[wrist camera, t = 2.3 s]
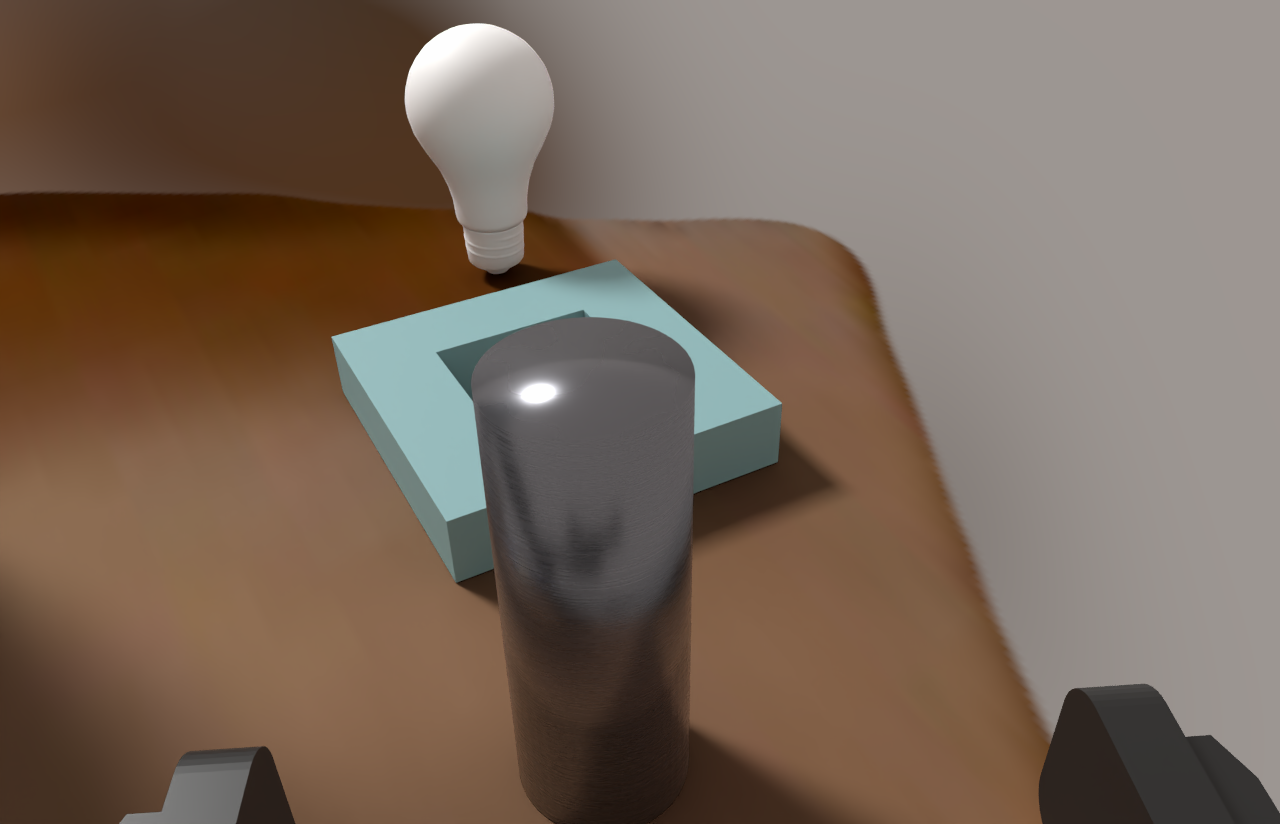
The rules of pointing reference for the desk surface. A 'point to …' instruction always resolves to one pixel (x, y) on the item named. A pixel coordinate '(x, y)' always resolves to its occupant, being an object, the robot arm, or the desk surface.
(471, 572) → the frame
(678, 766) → the brushed steel cylinder
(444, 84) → the lightbulb
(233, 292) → the desk surface
